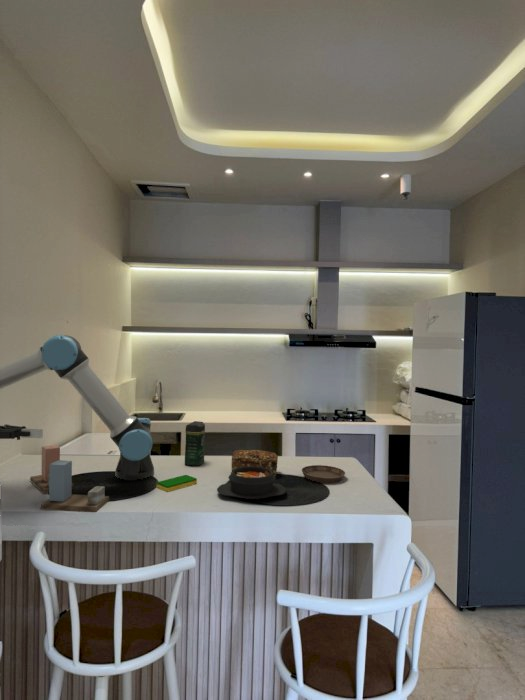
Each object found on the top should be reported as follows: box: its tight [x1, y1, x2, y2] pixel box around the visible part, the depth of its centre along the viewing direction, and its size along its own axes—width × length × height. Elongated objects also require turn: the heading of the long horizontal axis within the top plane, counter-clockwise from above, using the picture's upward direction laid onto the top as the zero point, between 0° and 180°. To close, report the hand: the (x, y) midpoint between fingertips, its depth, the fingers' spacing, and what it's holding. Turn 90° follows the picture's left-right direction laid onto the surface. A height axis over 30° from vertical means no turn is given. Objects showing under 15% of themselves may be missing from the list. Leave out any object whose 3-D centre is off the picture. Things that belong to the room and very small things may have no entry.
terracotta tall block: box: [41, 444, 61, 482], centre depth 172 cm, size 5×5×12 cm
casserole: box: [216, 466, 287, 500], centre depth 165 cm, size 25×19×8 cm
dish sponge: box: [156, 474, 198, 493], centre depth 173 cm, size 7×14×2 cm, turn 137°
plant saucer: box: [301, 464, 346, 484], centre depth 187 cm, size 18×18×3 cm
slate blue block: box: [48, 459, 73, 502], centre depth 152 cm, size 5×5×12 cm
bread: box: [231, 449, 279, 477], centre depth 189 cm, size 19×11×10 cm, turn 86°
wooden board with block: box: [39, 485, 110, 513], centre depth 151 cm, size 18×10×6 cm, turn 86°
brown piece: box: [29, 474, 75, 495], centre depth 171 cm, size 18×10×6 cm, turn 41°
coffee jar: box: [184, 420, 206, 466], centre depth 203 cm, size 10×8×19 cm
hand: (41, 433), depth 152 cm, fingers closed
